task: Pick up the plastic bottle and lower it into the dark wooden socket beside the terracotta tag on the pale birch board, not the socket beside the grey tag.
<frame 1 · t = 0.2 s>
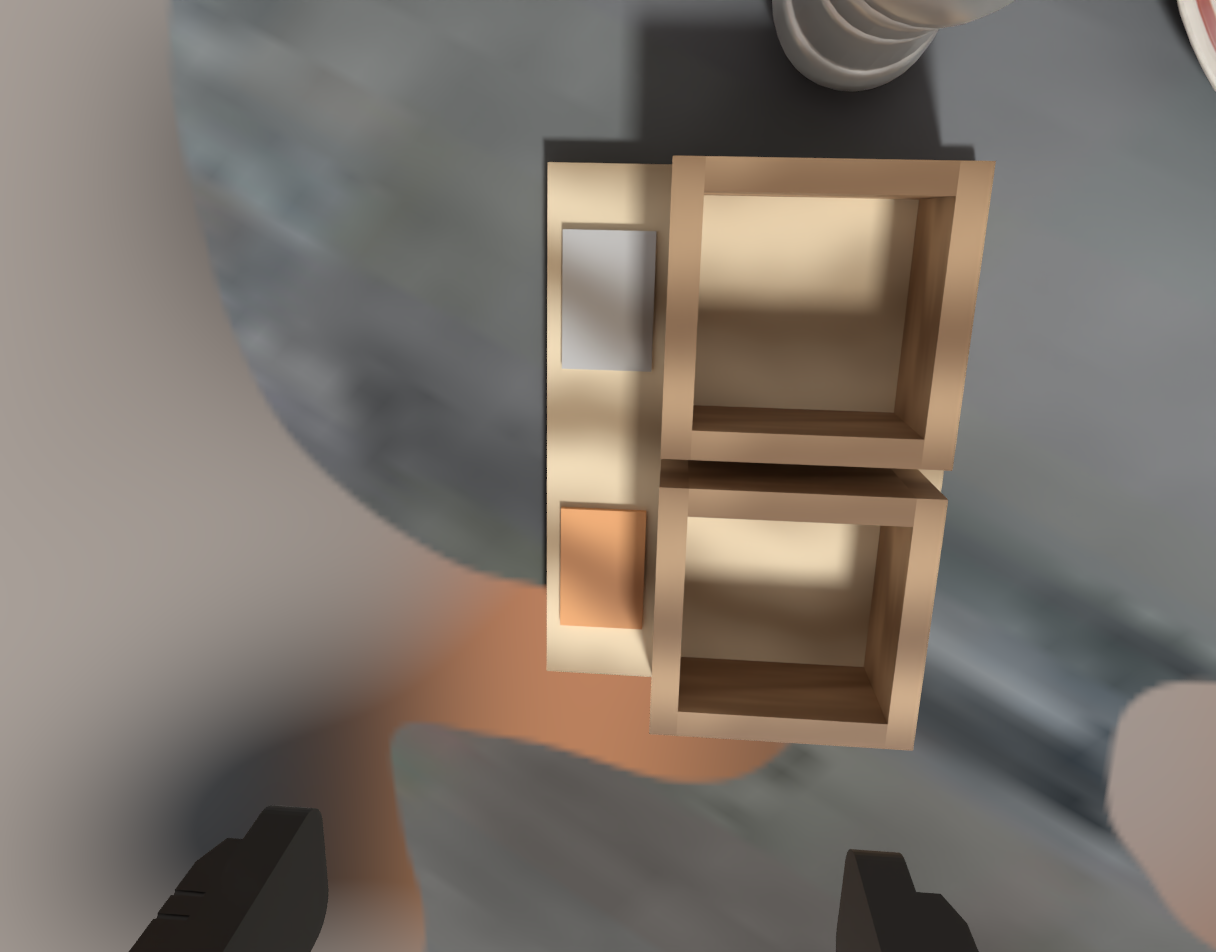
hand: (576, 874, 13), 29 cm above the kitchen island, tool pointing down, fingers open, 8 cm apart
socket board: (741, 440, 40), on the kitchen island
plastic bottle: (844, 12, 35), on the kitchen island
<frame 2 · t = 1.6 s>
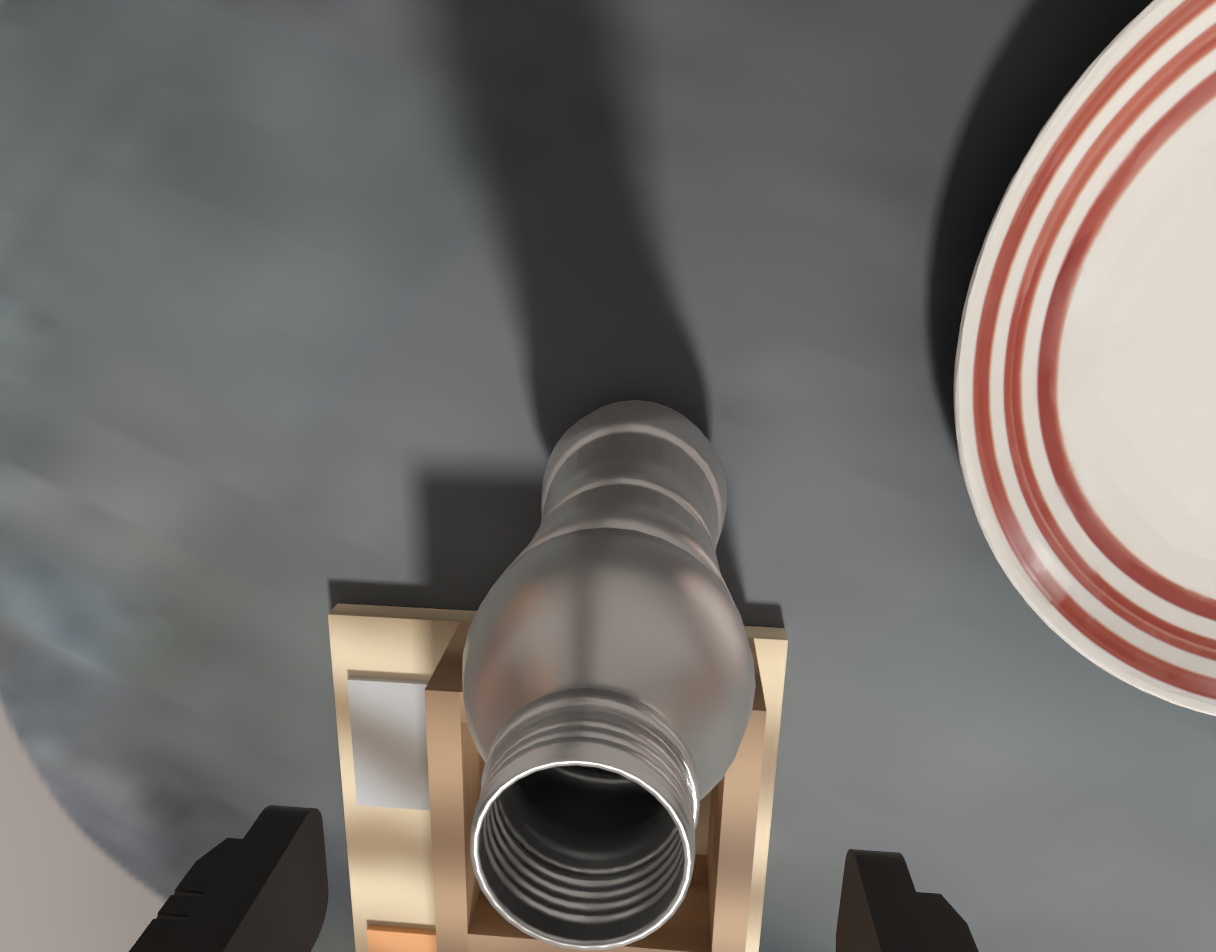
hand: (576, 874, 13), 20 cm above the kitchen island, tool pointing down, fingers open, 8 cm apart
socket board: (556, 861, 38), on the kitchen island
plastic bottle: (637, 473, 33), on the kitchen island
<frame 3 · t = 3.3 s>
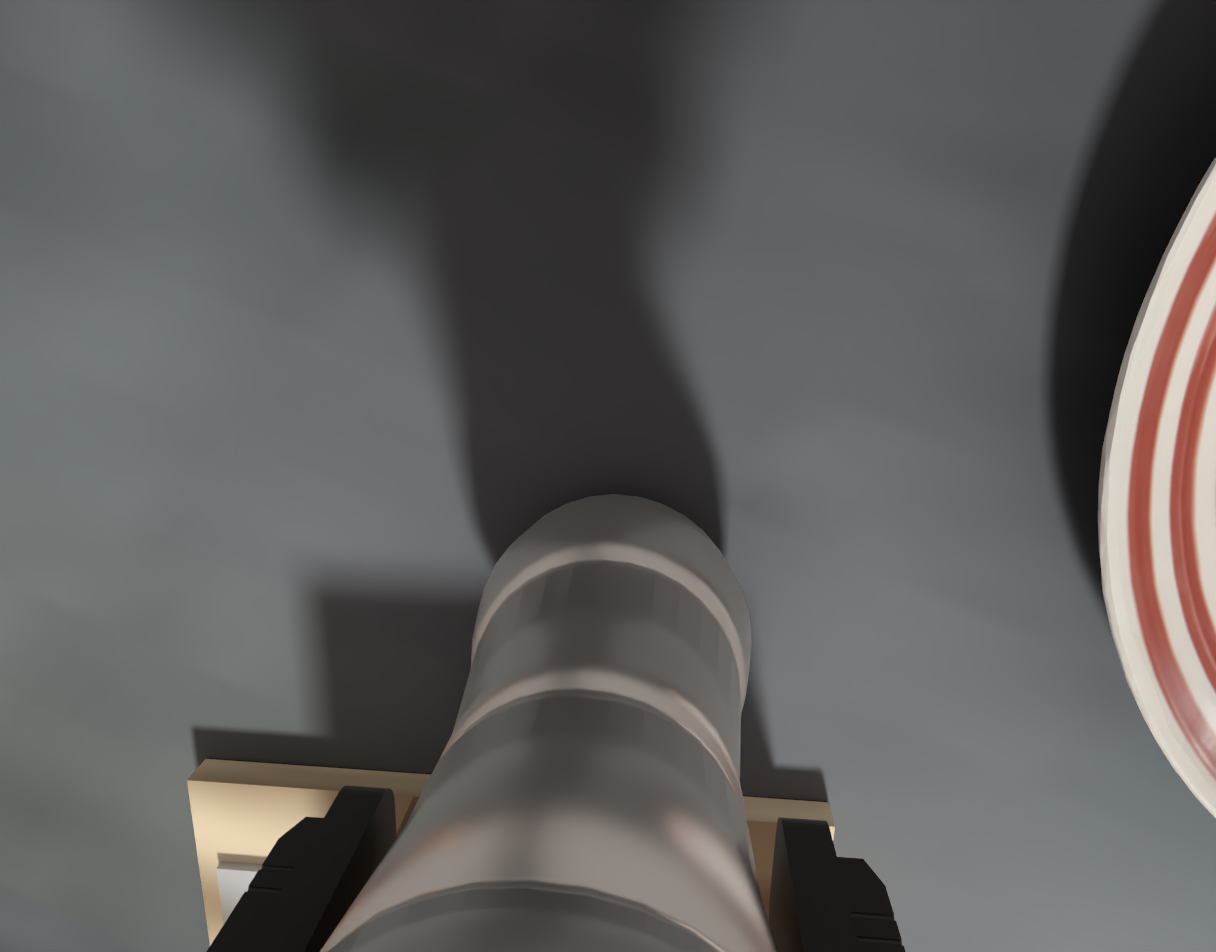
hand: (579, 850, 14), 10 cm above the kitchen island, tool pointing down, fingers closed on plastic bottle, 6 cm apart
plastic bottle: (620, 590, 23), on the kitchen island, touching gripper
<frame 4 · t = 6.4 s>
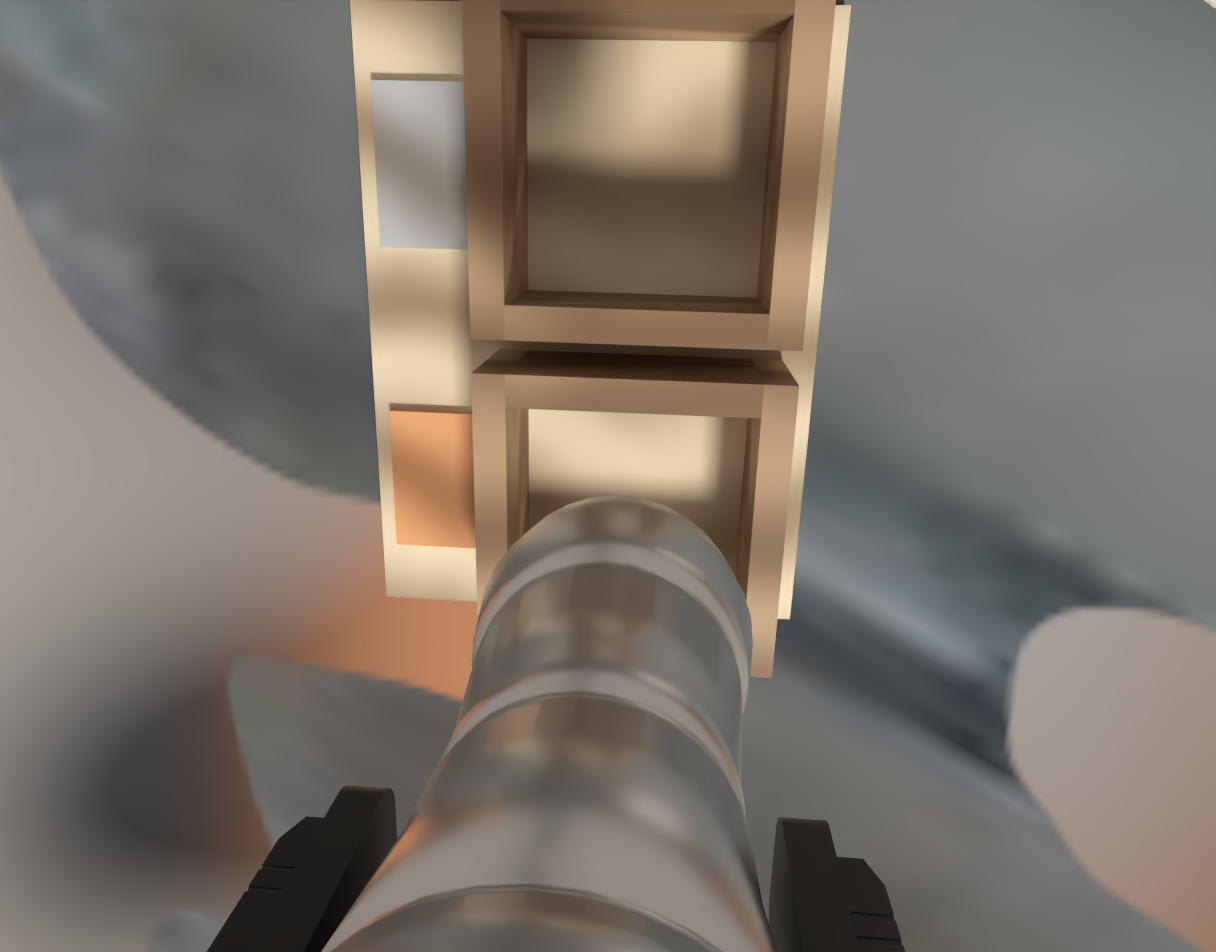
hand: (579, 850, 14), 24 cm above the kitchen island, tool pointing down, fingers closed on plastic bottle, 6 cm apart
socket board: (592, 333, 36), on the kitchen island
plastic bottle: (621, 591, 23), point 15 cm above the kitchen island, touching gripper
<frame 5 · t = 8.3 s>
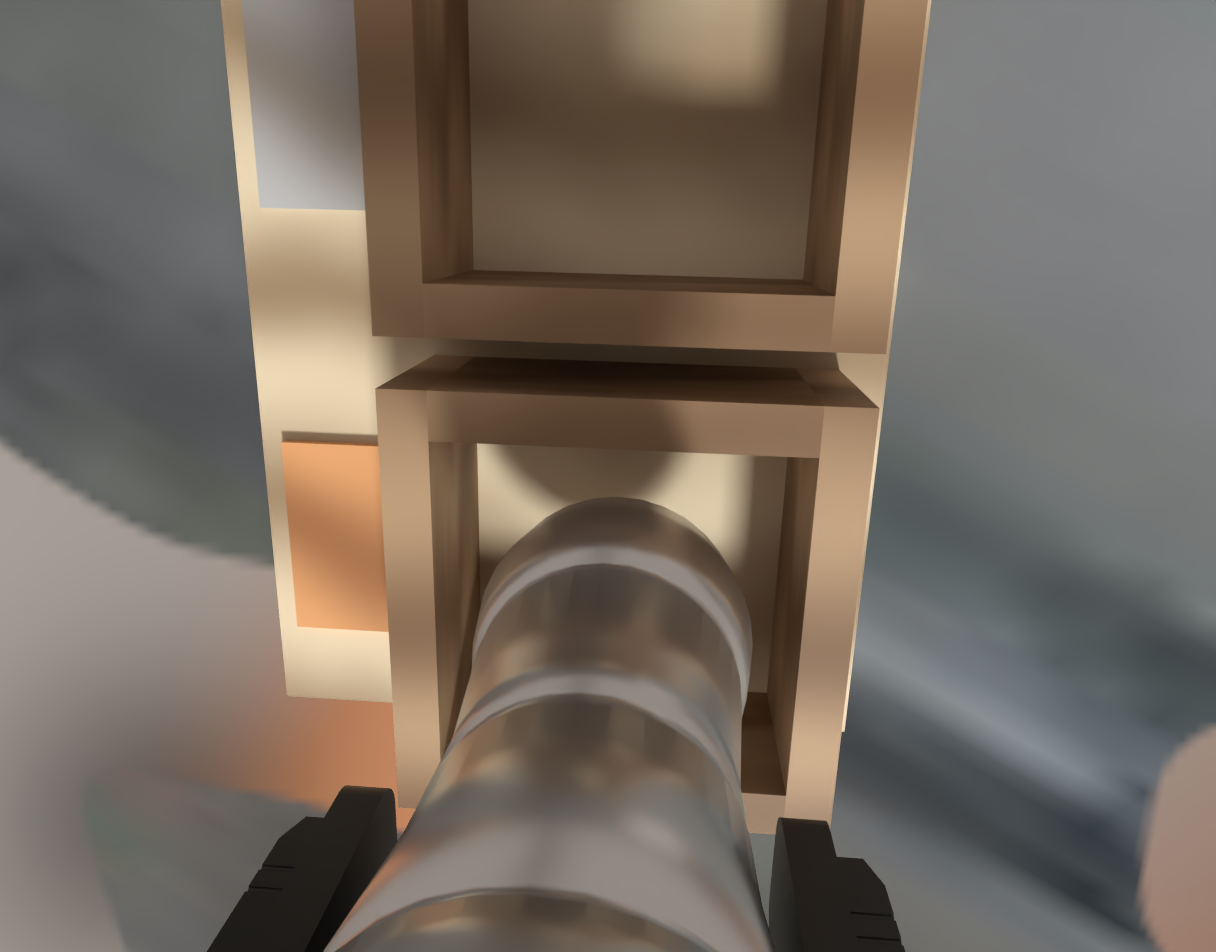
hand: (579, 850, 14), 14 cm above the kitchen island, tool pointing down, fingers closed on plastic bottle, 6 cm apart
socket board: (567, 333, 25), on the kitchen island
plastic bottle: (621, 592, 23), point 4 cm above the kitchen island, touching gripper
when the fingers open (12 cm above the kitchen island, at t = 9.7 s): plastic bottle drops 1 cm, resting on socket board.
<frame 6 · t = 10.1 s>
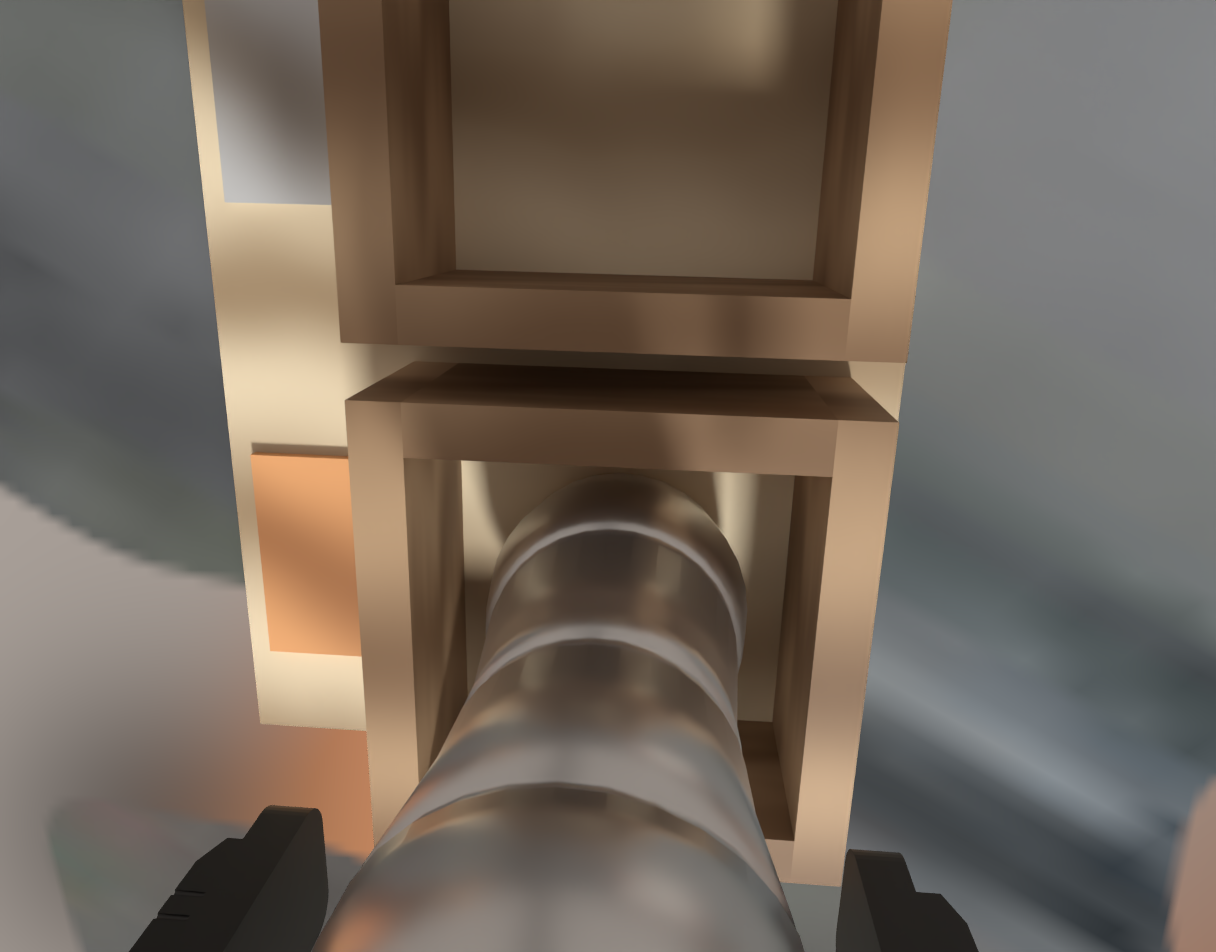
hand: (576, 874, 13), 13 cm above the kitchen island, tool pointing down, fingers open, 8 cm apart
socket board: (557, 338, 23), on the kitchen island
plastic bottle: (623, 566, 24), point 1 cm above the kitchen island, touching socket board
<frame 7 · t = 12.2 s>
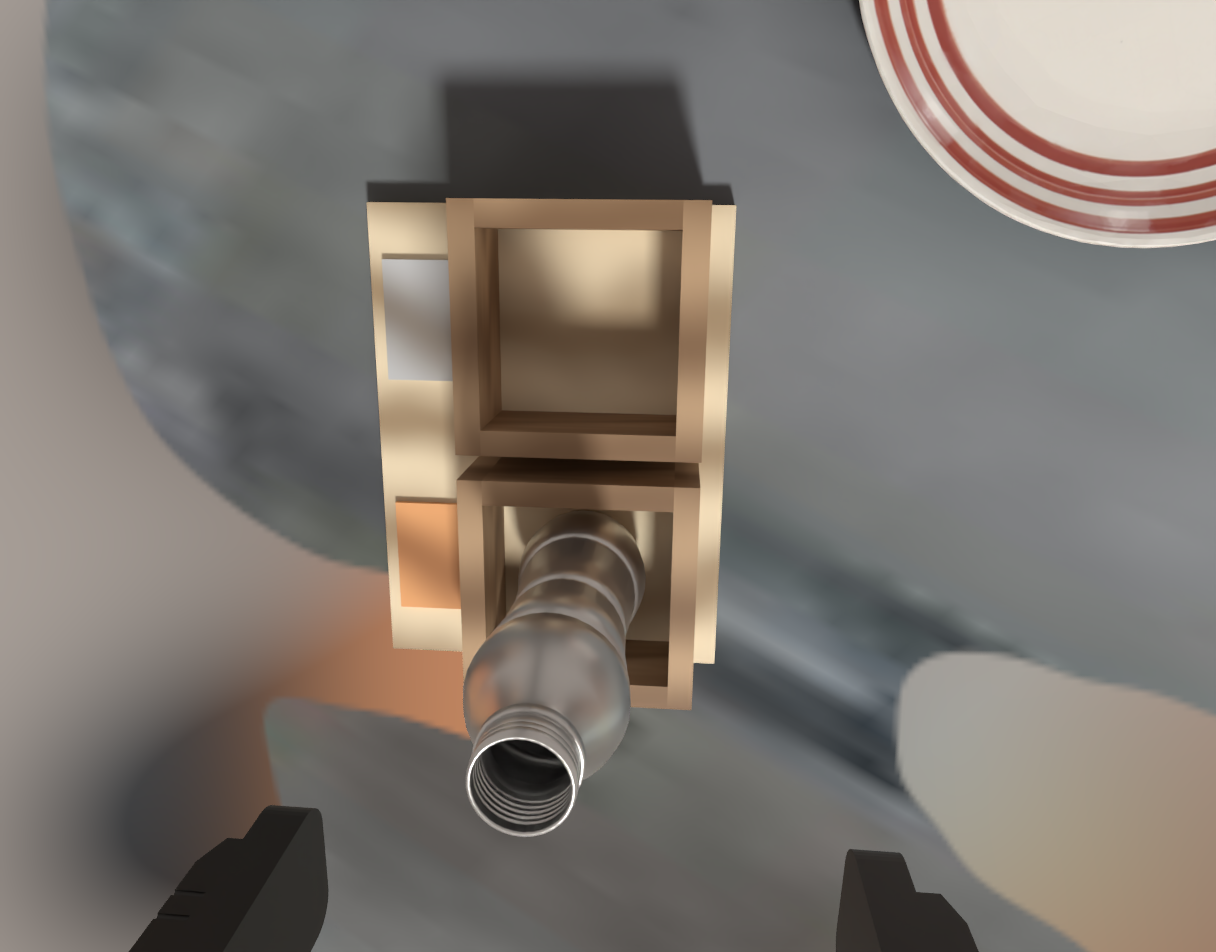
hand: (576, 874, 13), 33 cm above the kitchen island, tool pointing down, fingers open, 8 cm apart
socket board: (552, 441, 46), on the kitchen island
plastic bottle: (588, 558, 46), point 1 cm above the kitchen island, touching socket board
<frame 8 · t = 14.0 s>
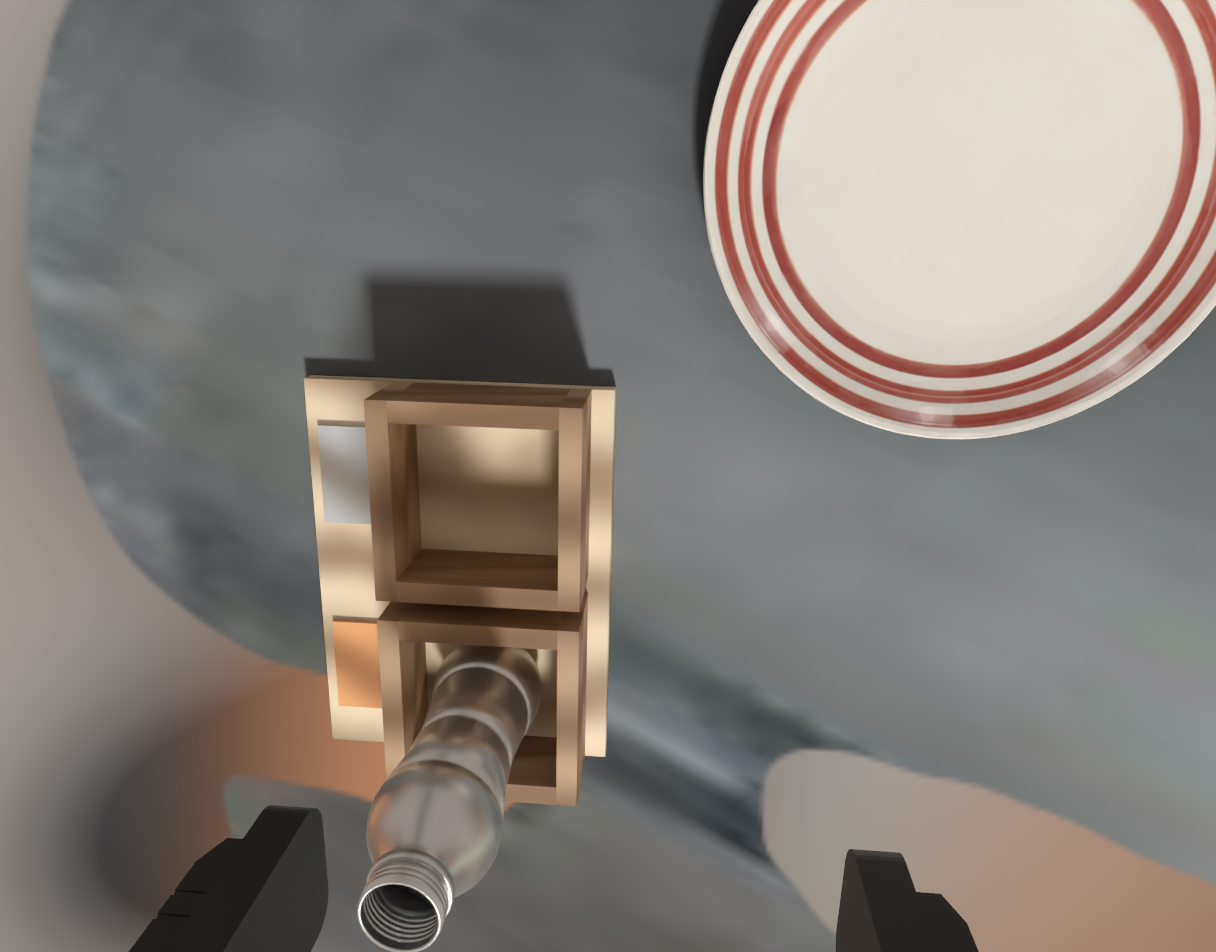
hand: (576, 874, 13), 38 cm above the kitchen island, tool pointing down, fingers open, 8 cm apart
socket board: (466, 571, 54), on the kitchen island
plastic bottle: (497, 668, 55), point 1 cm above the kitchen island, touching socket board
dinner plate: (964, 172, 45), on the kitchen island
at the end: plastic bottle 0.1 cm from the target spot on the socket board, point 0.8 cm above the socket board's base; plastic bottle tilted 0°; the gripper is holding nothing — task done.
